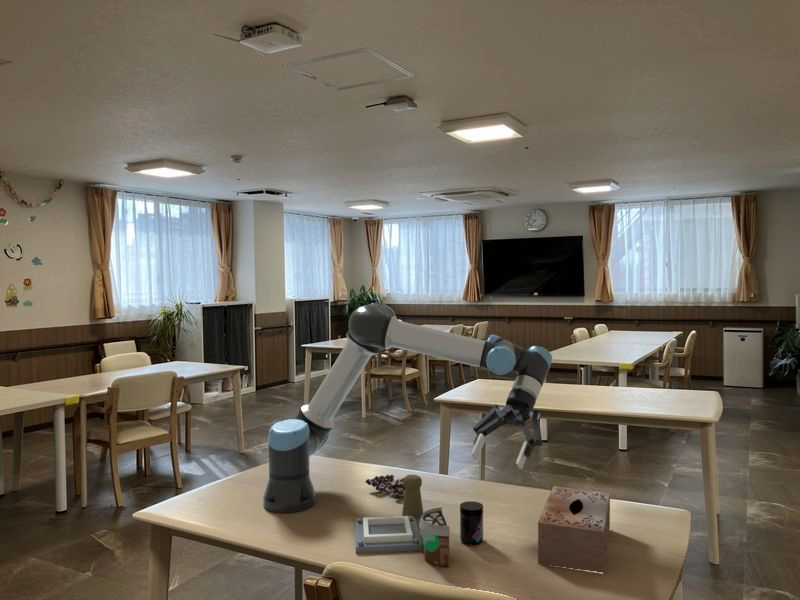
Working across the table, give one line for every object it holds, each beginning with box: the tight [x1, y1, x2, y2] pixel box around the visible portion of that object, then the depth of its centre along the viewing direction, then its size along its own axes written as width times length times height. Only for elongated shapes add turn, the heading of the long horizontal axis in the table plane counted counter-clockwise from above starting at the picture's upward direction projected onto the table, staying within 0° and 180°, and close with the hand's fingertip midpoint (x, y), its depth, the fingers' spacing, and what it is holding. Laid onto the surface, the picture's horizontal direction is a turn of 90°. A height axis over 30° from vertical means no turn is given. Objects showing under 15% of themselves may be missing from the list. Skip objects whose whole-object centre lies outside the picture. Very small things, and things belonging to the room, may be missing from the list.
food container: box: [419, 507, 451, 569], centre depth 144 cm, size 12×6×10 cm, turn 5°
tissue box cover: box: [537, 485, 611, 574], centre depth 150 cm, size 26×14×10 cm, turn 158°
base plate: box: [354, 515, 423, 554], centre depth 156 cm, size 16×16×3 cm
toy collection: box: [364, 474, 405, 500], centre depth 189 cm, size 15×14×5 cm
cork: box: [401, 474, 424, 520], centre depth 170 cm, size 6×6×11 cm
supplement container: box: [459, 501, 484, 546], centre depth 153 cm, size 6×6×9 cm
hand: (495, 461), depth 161 cm, fingers open, 13 cm apart
